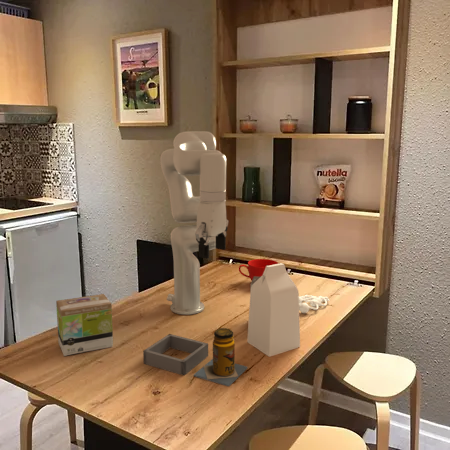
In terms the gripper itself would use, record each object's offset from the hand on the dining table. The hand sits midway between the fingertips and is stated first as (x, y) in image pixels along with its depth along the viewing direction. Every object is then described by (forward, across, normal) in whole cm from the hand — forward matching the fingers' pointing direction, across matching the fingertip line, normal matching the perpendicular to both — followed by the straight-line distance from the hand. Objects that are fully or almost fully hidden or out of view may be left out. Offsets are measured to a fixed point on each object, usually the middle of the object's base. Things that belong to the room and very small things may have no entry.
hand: (212, 253), depth 143 cm
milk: (+30, -10, +16) cm, 36 cm away
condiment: (+29, +13, +11) cm, 34 cm away
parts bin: (+30, +13, -5) cm, 33 cm away
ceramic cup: (+33, -59, -12) cm, 69 cm away
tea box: (+31, +19, -34) cm, 50 cm away
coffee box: (+31, -22, +6) cm, 39 cm away
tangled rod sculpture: (+32, -47, +14) cm, 59 cm away
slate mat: (+30, +12, +10) cm, 34 cm away
